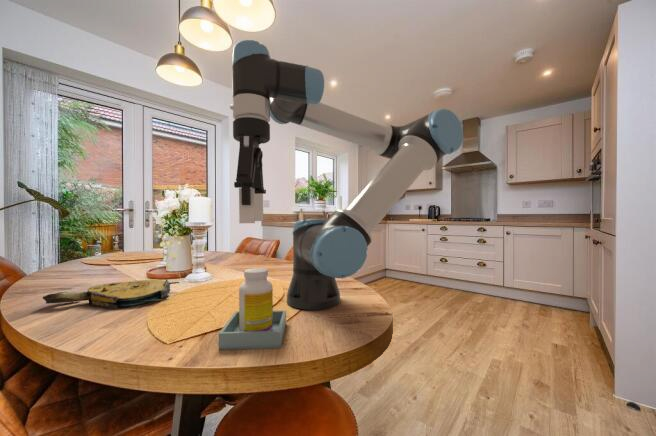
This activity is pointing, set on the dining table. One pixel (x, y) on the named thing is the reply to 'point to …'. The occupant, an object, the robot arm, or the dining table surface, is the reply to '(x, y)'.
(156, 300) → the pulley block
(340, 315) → the dining table surface
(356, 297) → the dining table surface
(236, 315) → the tray
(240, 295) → the supplement bottle
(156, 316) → the dining table surface
